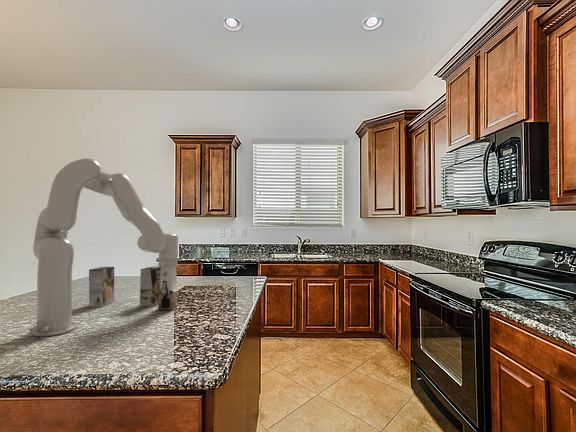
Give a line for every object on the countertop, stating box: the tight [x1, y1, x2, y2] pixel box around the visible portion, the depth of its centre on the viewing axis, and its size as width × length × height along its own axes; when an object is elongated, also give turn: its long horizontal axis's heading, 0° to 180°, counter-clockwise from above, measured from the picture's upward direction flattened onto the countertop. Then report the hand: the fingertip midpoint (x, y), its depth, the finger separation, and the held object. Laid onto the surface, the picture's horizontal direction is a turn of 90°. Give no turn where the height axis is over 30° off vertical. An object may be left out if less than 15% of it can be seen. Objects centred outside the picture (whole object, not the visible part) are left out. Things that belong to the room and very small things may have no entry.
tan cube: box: [157, 291, 178, 311], centre depth 140 cm, size 6×6×6 cm
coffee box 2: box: [139, 266, 162, 308], centre depth 148 cm, size 9×6×16 cm
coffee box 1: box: [88, 266, 115, 308], centre depth 148 cm, size 9×6×16 cm
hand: (167, 305), depth 140 cm, fingers closed on tan cube, 5 cm apart
